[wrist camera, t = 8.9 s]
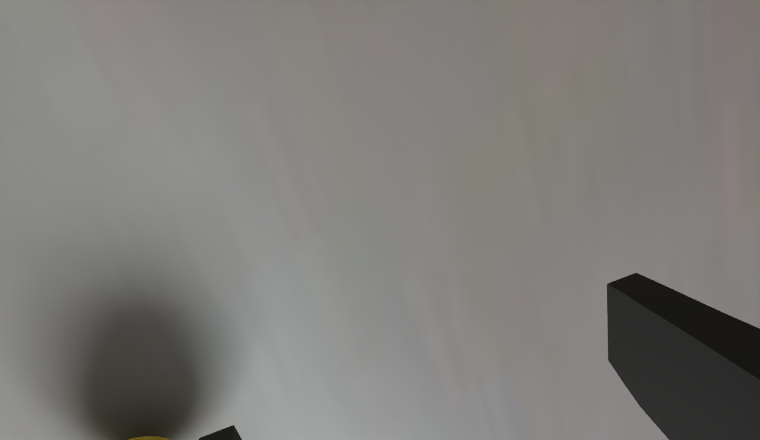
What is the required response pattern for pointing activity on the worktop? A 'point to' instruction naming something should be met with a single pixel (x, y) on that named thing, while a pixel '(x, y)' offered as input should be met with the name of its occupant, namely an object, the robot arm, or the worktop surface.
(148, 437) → the lemon
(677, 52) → the worktop surface
